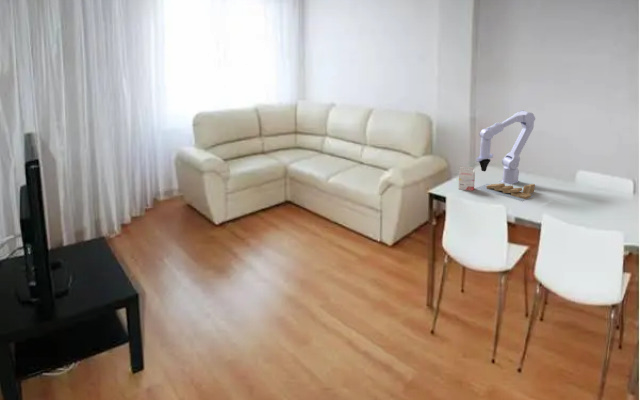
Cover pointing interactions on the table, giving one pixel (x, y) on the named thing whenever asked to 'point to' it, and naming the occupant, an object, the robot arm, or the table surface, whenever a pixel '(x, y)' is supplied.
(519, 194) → the domino
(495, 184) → the domino
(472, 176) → the ink cartridge box
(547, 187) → the table surface
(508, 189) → the domino
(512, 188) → the domino
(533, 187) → the loose domino
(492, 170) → the table surface
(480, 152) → the robot arm
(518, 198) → the mat
